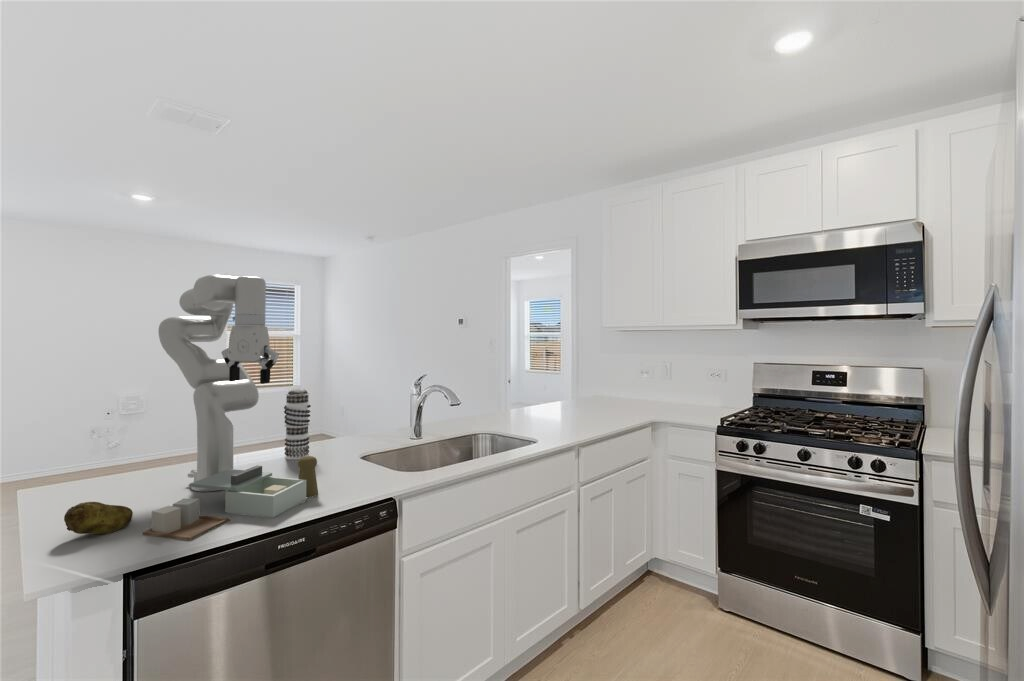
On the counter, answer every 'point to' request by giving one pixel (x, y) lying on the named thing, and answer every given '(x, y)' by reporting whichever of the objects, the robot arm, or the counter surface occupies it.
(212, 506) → the counter surface
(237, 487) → the lid
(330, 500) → the counter surface
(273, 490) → the sandstone block
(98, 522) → the potato
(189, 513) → the grey block
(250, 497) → the bin
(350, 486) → the counter surface
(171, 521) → the grey block
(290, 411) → the decorative candle
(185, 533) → the tray
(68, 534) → the counter surface
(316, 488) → the cork
